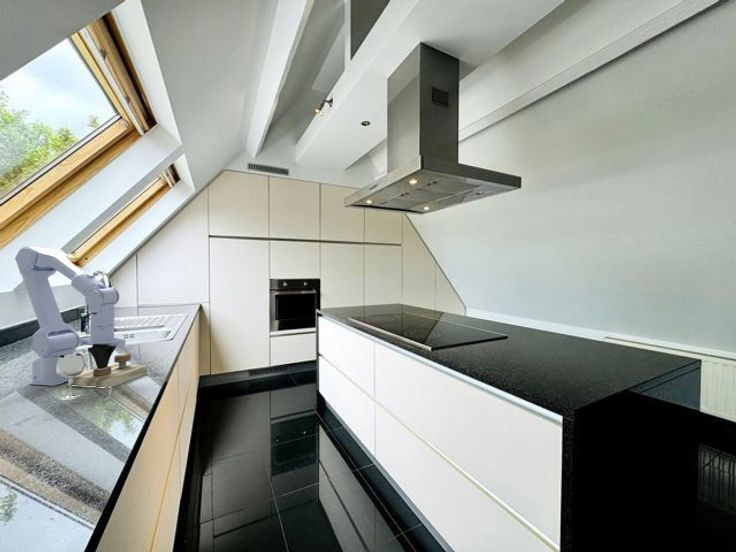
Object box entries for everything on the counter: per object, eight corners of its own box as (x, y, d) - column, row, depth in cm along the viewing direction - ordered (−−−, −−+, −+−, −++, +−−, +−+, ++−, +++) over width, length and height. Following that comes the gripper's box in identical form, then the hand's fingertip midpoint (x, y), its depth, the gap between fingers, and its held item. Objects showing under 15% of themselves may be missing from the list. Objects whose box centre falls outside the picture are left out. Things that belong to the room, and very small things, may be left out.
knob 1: (89, 385, 96) (89, 369, 95) (103, 380, 100) (103, 365, 100) (101, 386, 95) (101, 370, 95) (114, 381, 99) (114, 365, 99)
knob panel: (68, 386, 95) (68, 376, 95) (111, 371, 109) (111, 363, 109) (108, 388, 93) (108, 379, 93) (146, 373, 107) (146, 365, 107)
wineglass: (51, 399, 85) (51, 356, 85) (77, 392, 90) (77, 352, 90) (63, 403, 83) (63, 359, 83) (89, 395, 88) (89, 354, 88)
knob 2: (110, 371, 102) (110, 356, 102) (122, 367, 107) (122, 352, 107) (122, 371, 102) (122, 356, 102) (133, 367, 106) (134, 353, 106)
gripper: (69, 327, 94) (69, 370, 94) (110, 328, 92) (110, 372, 93) (92, 323, 101) (92, 363, 101) (131, 324, 99) (131, 366, 100)
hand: (102, 367), depth 97 cm, fingers closed, pressing on knob 1
